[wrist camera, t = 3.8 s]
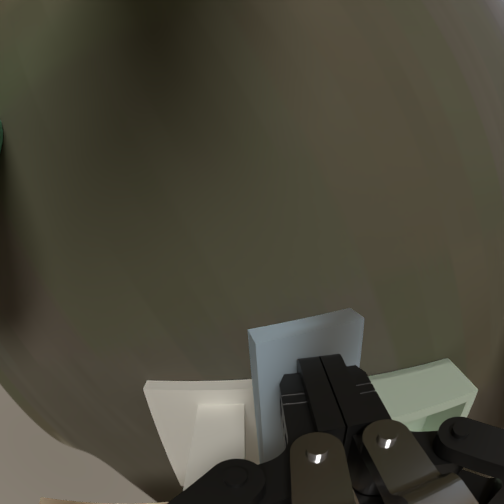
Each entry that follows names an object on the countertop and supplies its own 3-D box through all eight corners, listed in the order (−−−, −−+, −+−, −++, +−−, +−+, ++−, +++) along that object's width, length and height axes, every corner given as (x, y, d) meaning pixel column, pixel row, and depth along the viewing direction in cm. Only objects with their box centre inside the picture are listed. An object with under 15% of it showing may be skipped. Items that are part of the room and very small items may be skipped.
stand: (297, 375, 19) (325, 496, 10) (294, 475, 22) (307, 562, 12) (147, 380, 19) (101, 489, 10) (182, 477, 22) (168, 562, 12)
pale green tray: (447, 357, 19) (478, 389, 15) (419, 442, 21) (437, 474, 17) (326, 383, 19) (342, 428, 15) (317, 466, 21) (326, 505, 17)
